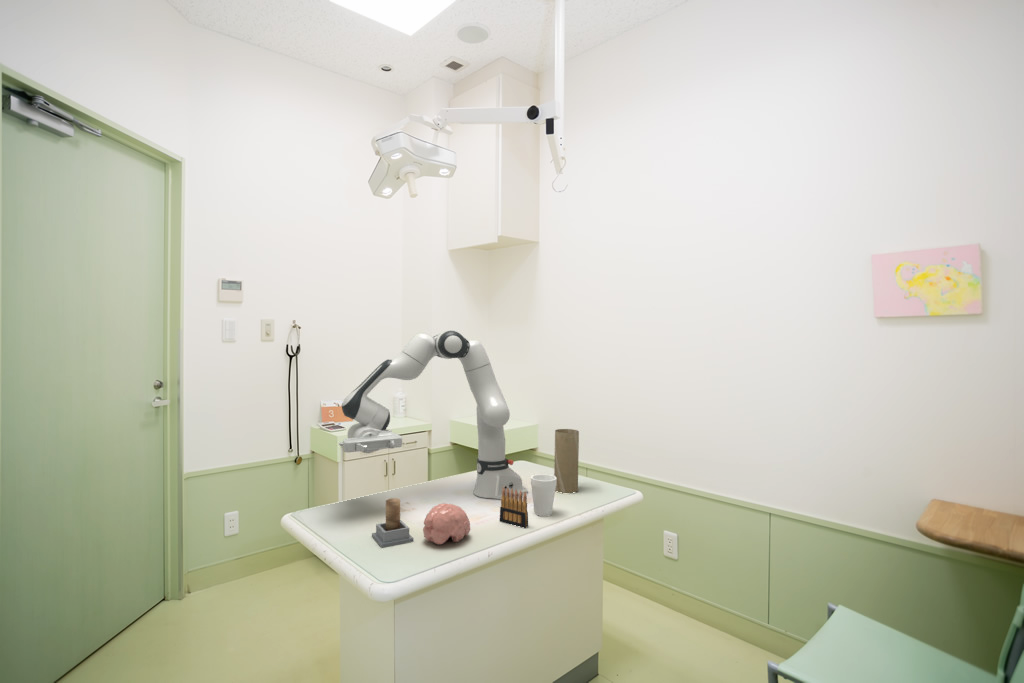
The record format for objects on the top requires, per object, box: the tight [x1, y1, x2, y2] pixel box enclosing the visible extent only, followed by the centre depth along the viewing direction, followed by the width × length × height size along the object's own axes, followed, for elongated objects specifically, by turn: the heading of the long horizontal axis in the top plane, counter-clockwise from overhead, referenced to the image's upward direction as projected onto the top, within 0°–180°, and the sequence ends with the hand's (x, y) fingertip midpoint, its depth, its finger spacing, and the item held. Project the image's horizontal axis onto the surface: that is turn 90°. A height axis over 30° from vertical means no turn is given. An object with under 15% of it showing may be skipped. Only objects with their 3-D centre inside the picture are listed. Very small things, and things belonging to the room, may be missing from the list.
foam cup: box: [530, 473, 557, 517], centre depth 182 cm, size 10×9×13 cm
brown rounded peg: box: [385, 497, 401, 531], centre depth 156 cm, size 5×5×11 cm
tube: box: [553, 428, 580, 494], centre depth 212 cm, size 10×10×25 cm
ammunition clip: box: [499, 487, 529, 529], centre depth 171 cm, size 11×2×12 cm, turn 56°
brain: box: [422, 503, 471, 545], centre depth 157 cm, size 16×13×12 cm
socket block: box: [371, 519, 414, 549], centre depth 156 cm, size 10×10×4 cm
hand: (378, 447), depth 170 cm, fingers open, 8 cm apart
